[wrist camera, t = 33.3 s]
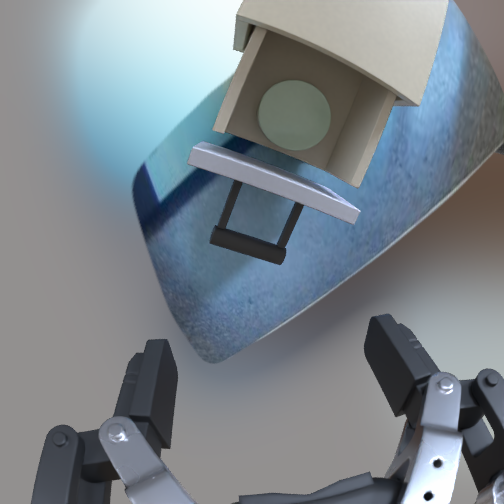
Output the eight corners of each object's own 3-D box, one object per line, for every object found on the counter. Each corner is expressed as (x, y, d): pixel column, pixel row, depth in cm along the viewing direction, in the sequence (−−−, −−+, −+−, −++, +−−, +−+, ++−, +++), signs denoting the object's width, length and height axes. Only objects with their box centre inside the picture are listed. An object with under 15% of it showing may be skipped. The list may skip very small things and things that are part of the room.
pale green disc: (334, 100, 22) (341, 98, 20) (309, 159, 24) (315, 162, 23) (271, 72, 21) (274, 68, 19) (245, 133, 23) (246, 134, 21)
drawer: (300, 250, 29) (320, 289, 23) (178, 211, 27) (163, 242, 20) (377, 69, 22) (420, 59, 15) (256, 13, 19) (267, -22, 12)
